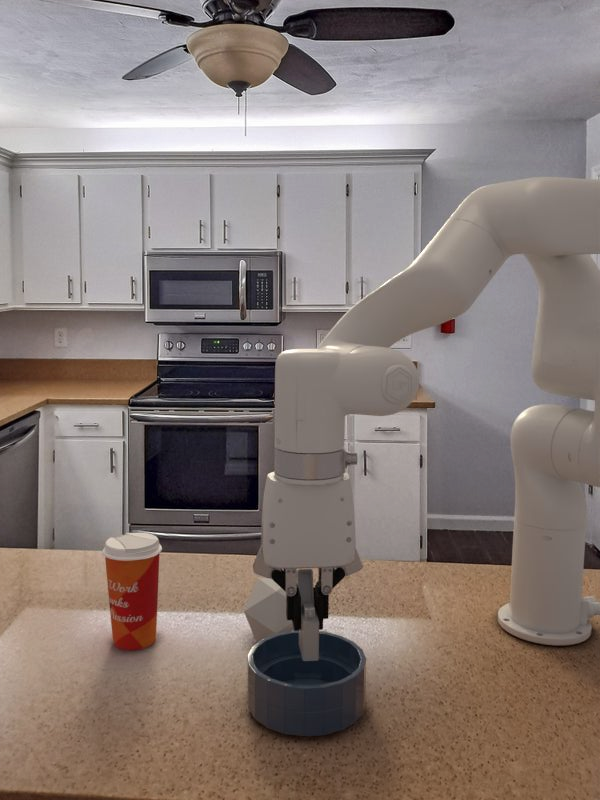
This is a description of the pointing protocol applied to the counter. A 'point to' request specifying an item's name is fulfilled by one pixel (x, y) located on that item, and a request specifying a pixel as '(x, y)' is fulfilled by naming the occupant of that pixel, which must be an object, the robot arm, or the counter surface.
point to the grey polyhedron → (267, 610)
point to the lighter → (308, 617)
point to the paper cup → (133, 588)
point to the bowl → (306, 684)
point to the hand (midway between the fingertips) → (307, 623)
